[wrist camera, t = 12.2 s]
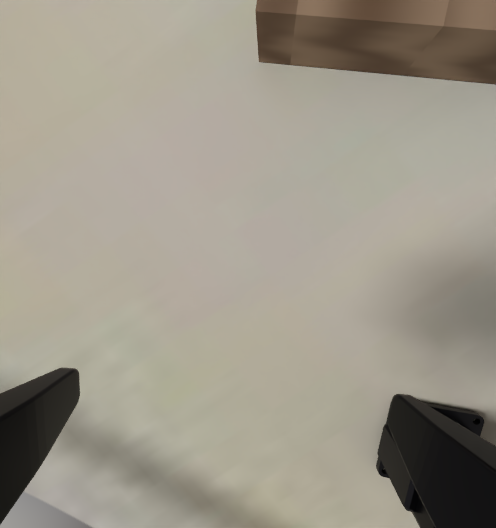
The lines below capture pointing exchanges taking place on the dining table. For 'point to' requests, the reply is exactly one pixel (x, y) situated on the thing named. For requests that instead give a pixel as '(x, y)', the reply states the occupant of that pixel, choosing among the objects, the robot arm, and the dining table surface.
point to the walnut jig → (382, 36)
